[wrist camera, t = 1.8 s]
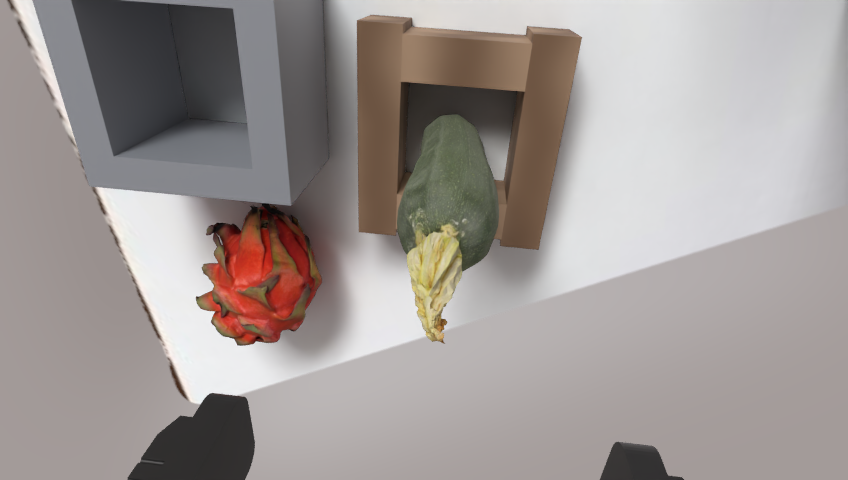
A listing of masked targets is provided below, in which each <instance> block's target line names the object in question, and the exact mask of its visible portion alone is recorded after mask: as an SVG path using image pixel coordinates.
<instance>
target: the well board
mask: <svg viewBox="0 0 848 480" xmlns="http://www.w3.org/2000/svg"><path fill="white" fill-rule="evenodd" d="M411 23H412V18H406V17H393V16H379V15H370V16H367V17H365V18H362V19H360V20H357V81H358V194H359V232H365V233H375V234H385V235H395V236H396V233H397V215H398V208H399V205H400V201H401V198H402V195H403V192H404V189H405V187H406V184H407V182H408V180H409V178H410V176H411V175H412V173H411V172H405V165H406V142H407V118H408V94H409V82H412V83H424V84H436V85H449V86H461V87H473V88H486V89H498V90H510V91H517V97H516V104H515V111H514V117H513V124H512V130H511V137H510V144H509V150H508V157H507V163H506V170H505V177H504V181H499V180H494V182H495V184H496V188H497V193H498V204H499V222H498V228H497V231H496V234H495V237H494V239H500V246H506V247H516V248H526V249H536V250H538V249H539V244H540V239H541V235H542V230H543V225H544V220H545V215H546V210H547V205H548V200H549V195H550V191H551V186H552V181H553V176H554V171H555V166H556V161H557V156H558V151H559V147H560V142H561V137H562V132H563V127H564V122H565V117H566V112H567V107H568V103H569V98H570V93H571V88H572V83H573V78H574V73H575V68H576V63H577V59H578V54H579V49H580V44H581V39H582V37H581V36H579V35H577V34H576V33H574V32H572V31H571V30H569V29H556V28H542V27H529V26H527V31H526V35H514V34H501V33H488V32H474V31H461V30H447V29H434V28H421V27H411Z"/></svg>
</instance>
